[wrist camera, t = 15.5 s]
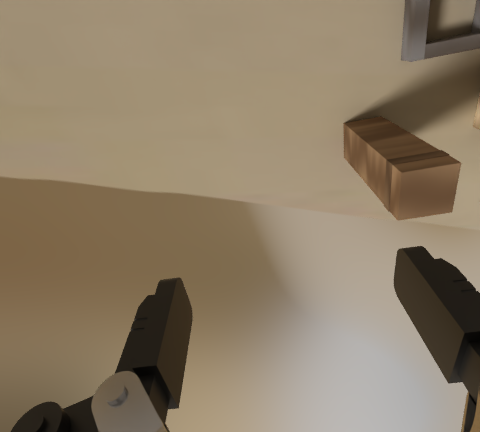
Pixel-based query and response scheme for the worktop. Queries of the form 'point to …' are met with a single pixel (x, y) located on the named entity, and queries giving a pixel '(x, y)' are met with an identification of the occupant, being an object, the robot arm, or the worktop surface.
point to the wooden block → (401, 168)
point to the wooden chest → (420, 49)
